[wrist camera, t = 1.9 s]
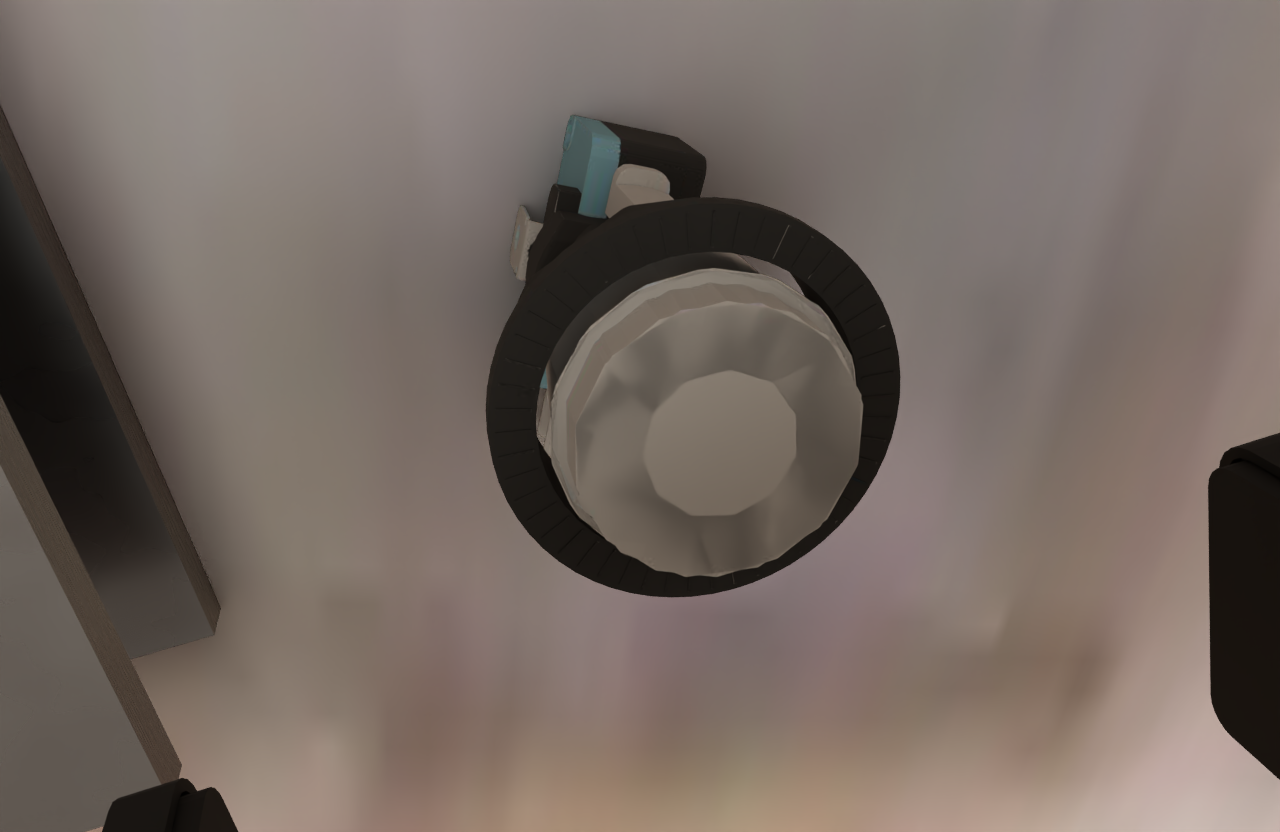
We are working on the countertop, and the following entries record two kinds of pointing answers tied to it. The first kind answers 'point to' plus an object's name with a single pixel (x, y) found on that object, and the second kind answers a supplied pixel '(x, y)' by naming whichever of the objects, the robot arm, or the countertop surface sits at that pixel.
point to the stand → (77, 546)
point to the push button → (682, 375)
